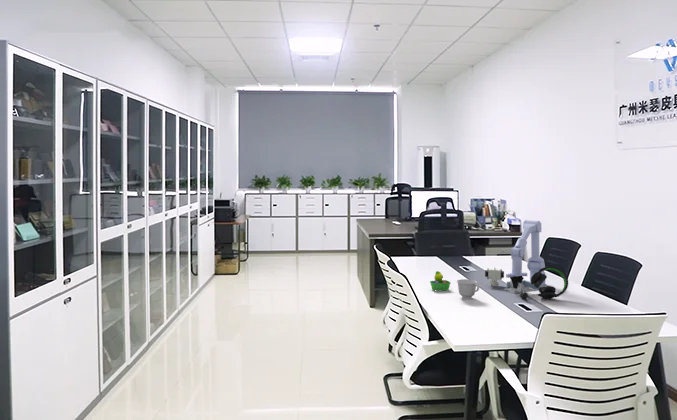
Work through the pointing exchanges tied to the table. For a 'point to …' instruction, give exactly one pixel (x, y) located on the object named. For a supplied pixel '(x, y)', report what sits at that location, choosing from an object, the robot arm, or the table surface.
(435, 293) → the table surface
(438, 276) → the fruit basket
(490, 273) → the pneumatic valve
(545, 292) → the headset
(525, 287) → the pad
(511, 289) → the angle bracket
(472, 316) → the table surface
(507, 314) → the table surface
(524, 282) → the corner walls
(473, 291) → the teacup
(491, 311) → the table surface
